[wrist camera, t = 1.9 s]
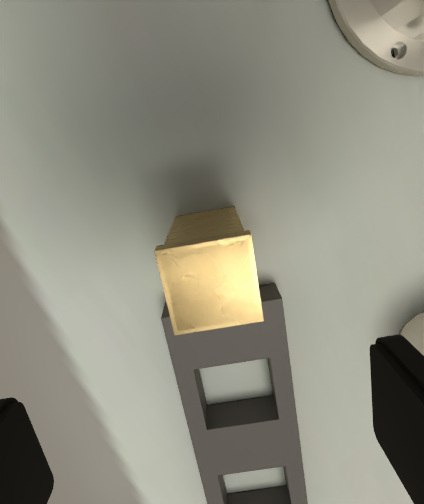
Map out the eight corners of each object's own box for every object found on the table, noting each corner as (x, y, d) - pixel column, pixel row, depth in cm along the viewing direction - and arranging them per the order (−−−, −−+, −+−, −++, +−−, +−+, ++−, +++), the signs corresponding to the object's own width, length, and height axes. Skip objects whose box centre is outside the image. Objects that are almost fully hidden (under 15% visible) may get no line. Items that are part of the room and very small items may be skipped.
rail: (274, 283, 25) (281, 298, 22) (305, 517, 32) (313, 547, 30) (165, 301, 25) (161, 318, 23) (220, 528, 32) (221, 559, 30)
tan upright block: (236, 202, 23) (251, 234, 15) (246, 264, 24) (263, 321, 17) (172, 214, 23) (154, 251, 16) (185, 274, 25) (174, 335, 17)
